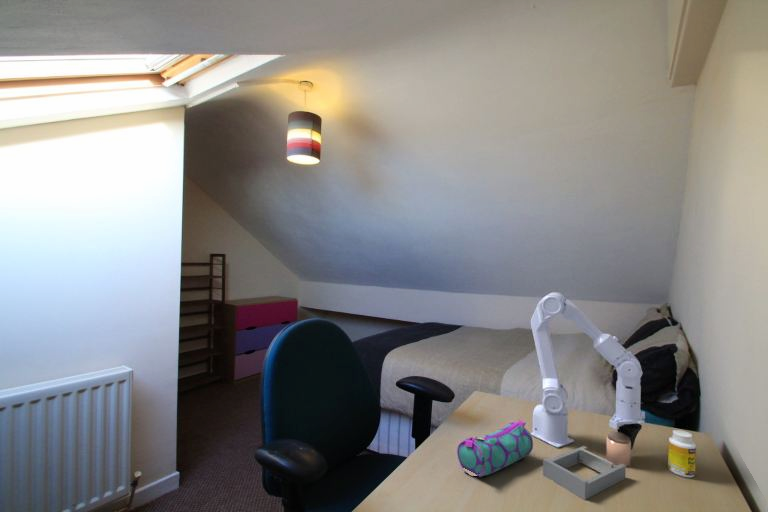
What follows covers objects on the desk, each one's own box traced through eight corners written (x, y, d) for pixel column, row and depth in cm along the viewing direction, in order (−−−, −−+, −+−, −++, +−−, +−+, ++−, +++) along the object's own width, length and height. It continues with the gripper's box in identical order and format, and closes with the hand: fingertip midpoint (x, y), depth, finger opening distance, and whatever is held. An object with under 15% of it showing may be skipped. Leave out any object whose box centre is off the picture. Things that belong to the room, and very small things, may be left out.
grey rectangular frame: (543, 474, 96) (543, 459, 96) (583, 457, 105) (583, 443, 105) (584, 499, 87) (585, 482, 87) (625, 478, 95) (625, 462, 95)
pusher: (579, 461, 102) (579, 448, 102) (581, 460, 102) (581, 448, 102) (611, 478, 94) (611, 464, 94) (613, 476, 95) (613, 463, 95)
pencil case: (482, 487, 91) (483, 447, 91) (455, 469, 98) (456, 432, 98) (534, 461, 103) (535, 426, 103) (507, 447, 110) (507, 414, 110)
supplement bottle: (690, 481, 95) (691, 440, 95) (664, 470, 99) (665, 431, 99) (698, 474, 98) (699, 434, 98) (673, 464, 102) (674, 426, 102)
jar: (601, 458, 104) (602, 434, 104) (613, 453, 107) (614, 429, 107) (623, 468, 100) (623, 443, 100) (634, 463, 102) (635, 438, 102)
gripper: (629, 410, 98) (628, 462, 98) (657, 400, 106) (656, 448, 106) (602, 400, 104) (601, 450, 105) (630, 391, 112) (629, 437, 112)
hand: (627, 448), depth 106 cm, fingers closed
